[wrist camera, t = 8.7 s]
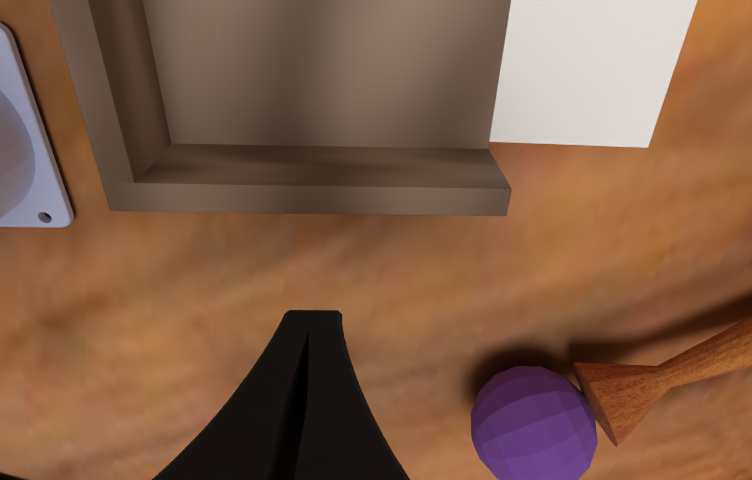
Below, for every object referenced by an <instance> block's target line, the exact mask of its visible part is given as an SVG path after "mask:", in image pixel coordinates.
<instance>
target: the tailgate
mask: <svg viewBox="0 0 752 480" xmlns="http://www.w3.org/2000/svg"><path fill="white" fill-rule="evenodd" d="M696 3H697V0H511V5H510V11H509V18H508V24H507V31H506V37H505V43H504V50H503V56H502V63H501V69H500V75H499V82H498V88H497V95H496V101H495V108H494V114H493V120H492V127H491V133H490V140H489V142H513V143H539V144H566V145H592V146H619V147H645V148H648V146H649V143H650V140H651V137H652V134H653V131H654V128H655V125H656V122H657V119H658V116H659V113H660V110H661V107H662V104H663V101H664V98H665V95H666V92H667V89H668V86H669V83H670V80H671V77H672V74H673V71H674V68H675V65H676V62H677V59H678V56H679V53H680V50H681V47H682V44H683V41H684V38H685V35H686V33H687V30H688V27H689V24H690V21H691V18H692V15H693V12H694V9H695V6H696Z"/></svg>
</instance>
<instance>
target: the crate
mask: <svg viewBox="0 0 752 480" xmlns="http://www.w3.org/2000/svg"><path fill="white" fill-rule="evenodd" d="M49 3H50V7H51V10H52V13H53V17H54V20H55V24H56V27H57V30H58V34H59V37H60V41H61V44H62V48H63V51H64V54H65V58H66V61H67V65H68V68H69V71H70V75H71V78H72V82H73V85H74V89H75V92H76V95H77V99H78V102H79V106H80V109H81V112H82V116H83V119H84V123H85V126H86V129H87V133H88V136H89V140H90V143H91V147H92V150H93V153H94V157H95V160H96V164H97V167H98V170H99V174H100V177H101V181H102V184H103V188H104V191H105V194H106V198H107V201H108V205H109V208H110V211H164V212H240V213H316V214H391V215H467V216H506V215H507V210H508V205H509V200H510V194H511V187H510V185H509V184H508V182H507V180H506V179H505V177H504V175H503V174H502V172H501V170H500V168H499V167H498V165H497V163H496V162H495V160H494V158H493V157H492V155H491V153H490V152H489V150H488V146H489V140H490V133H491V127H492V120H493V114H494V108H495V101H496V95H497V88H498V82H499V75H500V69H501V63H502V56H503V50H504V43H505V37H506V31H507V24H508V18H509V11H510V5H511V0H49Z"/></svg>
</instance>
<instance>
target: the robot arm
mask: <svg viewBox="0 0 752 480" xmlns="http://www.w3.org/2000/svg"><path fill="white" fill-rule="evenodd" d="M43 212H45V213H47V214H49V215H50V216H51V218H48V217H47V216H45V214H44V213H43ZM73 219H74V214H73V211H72V208H71V205H70V202H69V199H68V196H67V193H66V190H65V187H64V184H63V181H62V179H61V176H60V173H59V170H58V167H57V164H56V161H55V158H54V155H53V152H52V149H51V146H50V143H49V140H48V137H47V134H46V131H45V128H44V125H43V122H42V120H41V117H40V114H39V111H38V108H37V105H36V102H35V99H34V96H33V93H32V90H31V87H30V84H29V81H28V78H27V75H26V72H25V69H24V66H23V63H22V60H21V58H20V55H19V52H18V49H17V46H16V43H15V40H14V37H13V35H12V33H11V31H10V30H9V29H8V28H7V27H6V26H5V25H3V24H1V23H0V227H58V228H62V227H66V226H68V225H69V224H70V223H71V222H72V221H73ZM152 480H410V479H409V477H408V476H407V474H406V472H405V471H404V469H403V468H402V466H401V465H400V463H399V462H398V460H397V458H396V457H395V455H394V454H393V452H392V450H391V448H390V447H389V445H388V443H387V441H386V440H385V438H384V436H383V434H382V432H381V430H380V428H379V427H378V425H377V423H376V421H375V419H374V417H373V415H372V413H371V411H370V408H369V406H368V404H367V402H366V399H365V397H364V395H363V392H362V390H361V388H360V385H359V383H358V380H357V377H356V375H355V372H354V369H353V366H352V363H351V360H350V357H349V354H348V350H347V346H346V342H345V338H344V333H343V327H342V314H341V313H340V312H339V311H338V310H289V311H288V312H286V313H285V314H284V317H283V319H282V321H281V323H280V324H279V326H278V328H277V330H276V332H275V333H274V335H273V337H272V339H271V340H270V342H269V343H268V345H267V347H266V348H265V350H264V351H263V353H262V354H261V356H260V357H259V359H258V360H257V362H256V363H255V365H254V366H253V368H252V369H251V371H250V372H249V374H248V375H247V376H246V378H245V379H244V380H243V382H242V383H241V384H240V386H239V387H238V388H237V390H236V391H235V392H234V394H233V395H232V396H231V397H230V399H229V400H228V401H227V403H226V404H225V405H224V406H223V407H222V409H221V410H220V411H219V412H218V413H217V414H216V416H215V417H214V418H213V419H212V420H211V421H210V422H209V424H208V425H207V426H206V427H205V428H204V429H203V430H202V431H201V432H200V433H199V435H198V436H197V437H196V438H195V439H194V440H193V441H192V442H191V443H190V444H189V445H188V446H187V447H186V448H185V449H184V450H183V451H182V452H181V453H180V454H179V455H178V456H177V457H176V458H175V459H174V460H173V461H172V462H171V463H170V464H169V465H168V466H166V467H165V468H164V469H163V470H162V471H161V472H160V473H159V474H158V475H157V476H155V477H154V478H153V479H152Z"/></svg>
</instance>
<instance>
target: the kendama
mask: <svg viewBox="0 0 752 480" xmlns="http://www.w3.org/2000/svg"><path fill="white" fill-rule="evenodd" d="M751 367H752V317H750V318H748V319H746V320H744V321H742V322H740V323H738V324H736V325H735V326H733V327H731V328H729V329H727V330H725V331H723V332H721V333H719V334H717V335H715V336H714V337H712V338H710V339H708V340H706V341H704V342H702V343H700V344H698V345H696V346H694V347H692V348H691V349H689V350H687V351H685V352H683V353H681V354H679V355H677V356H675V357H673V358H671V359H669V360H668V361H666V362H664V363H662V364H660V365H658V366H644V365H622V364H599V363H576V362H573V368H574V371H575V374H576V377H577V380H578V383H579V385H580V388H581V391H582V392H581V391H580V390H579V389H578V388H577V387H575V386H574V385H573V384H572V383H571V382H570V381H569V380H568V379H567V378H566V377H565V376H563V375H560V374H558V373H555V372H553V371H551V370H548V369H546V368H543V367H541V366H515V367H512V368H510V369H507V370H505V371H502V372H500V373H497V374H495V375H494V376H493V377H492V378H491V379H490V380H489V381H488V382H487V383H486V384H485V385H484V386H483V387H482V388H481V389H480V391H479V393H478V396H477V399H476V401H475V404H474V406H473V409H472V411H471V436H472V441H473V444H474V446H475V449H476V451H477V454H478V456H479V458H480V459H481V460H482V461H483V463H484V464H485V465H486V466H487V467H488V468H489V469H490V471H491V472H492V473H493V474H494V475H495V476H496V477H497V478H498V479H499V480H578V479H579V478H580V477H581V476H582V475H583V474H584V473H585V472H586V471H587V470H588V469H589V467H590V464H591V461H592V458H593V455H594V452H595V449H596V446H597V433H596V424H595V419H596V420H597V422H598V423H599V425H600V426H601V427H602V429H603V430H604V432H605V433H606V435H607V436H608V437H609V439H610V440H611V442H612V443H613V444H614V445H615V446H616V447H618V445H619V444H620V443H621V442H622V441H623V440H624V439H625V438H626V436H627V435H628V434H629V433H630V432H631V431H632V430H633V429H634V427H635V426H636V425H637V424H638V423H639V422H640V421H641V420H642V418H643V417H644V416H645V415H646V414H647V413H648V412H649V411H650V410H651V408H652V407H653V406H654V405H655V404H656V403H657V402H658V401H659V399H660V398H661V397H662V396H663V395H664V394H665V393H666V392H667V390H668V389H669V388H671V387H675V386H679V385H683V384H687V383H691V382H695V381H699V380H703V379H707V378H711V377H715V376H719V375H723V374H727V373H731V372H735V371H739V370H743V369H747V368H751Z"/></svg>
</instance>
